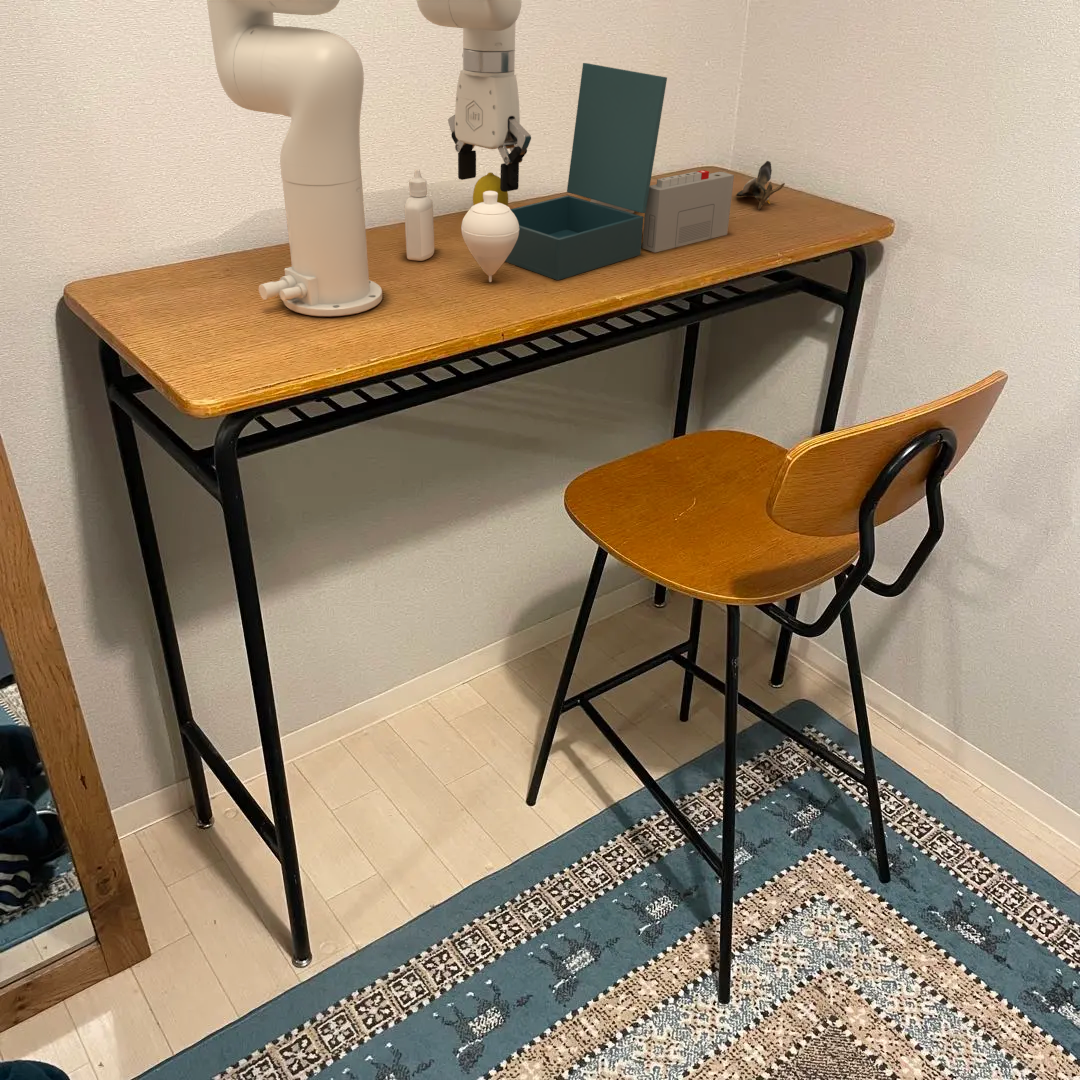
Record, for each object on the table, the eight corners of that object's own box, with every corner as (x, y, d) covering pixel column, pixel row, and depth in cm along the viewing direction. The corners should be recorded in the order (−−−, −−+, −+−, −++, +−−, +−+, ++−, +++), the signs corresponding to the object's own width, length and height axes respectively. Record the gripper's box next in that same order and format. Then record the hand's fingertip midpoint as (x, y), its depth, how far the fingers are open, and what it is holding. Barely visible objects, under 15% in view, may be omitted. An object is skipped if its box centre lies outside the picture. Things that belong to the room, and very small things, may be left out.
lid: (663, 77, 141) (667, 77, 142) (582, 62, 150) (586, 63, 151) (642, 213, 149) (645, 213, 150) (566, 192, 158) (570, 191, 159)
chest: (557, 280, 143) (559, 239, 140) (484, 254, 152) (483, 215, 149) (640, 254, 153) (643, 216, 150) (567, 231, 162) (568, 194, 159)
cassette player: (714, 230, 164) (721, 164, 159) (727, 234, 162) (734, 168, 157) (642, 248, 156) (647, 179, 150) (654, 252, 154) (660, 183, 149)
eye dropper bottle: (445, 255, 151) (443, 169, 144) (415, 263, 148) (411, 176, 141) (426, 248, 154) (423, 163, 147) (396, 256, 150) (391, 170, 144)
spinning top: (508, 294, 138) (509, 202, 131) (453, 287, 139) (452, 196, 133) (525, 276, 144) (527, 187, 137) (473, 270, 146) (472, 182, 139)
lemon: (493, 232, 161) (493, 179, 157) (465, 225, 164) (465, 172, 159) (515, 224, 165) (515, 172, 160) (488, 217, 168) (488, 166, 163)
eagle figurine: (793, 203, 174) (779, 179, 181) (778, 168, 170) (763, 145, 176) (752, 226, 176) (739, 202, 183) (735, 193, 172) (723, 169, 178)
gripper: (430, 57, 154) (433, 177, 163) (510, 71, 144) (508, 198, 153) (469, 54, 159) (469, 171, 168) (549, 68, 148) (544, 191, 157)
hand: (487, 184), depth 160 cm, fingers open, 9 cm apart
